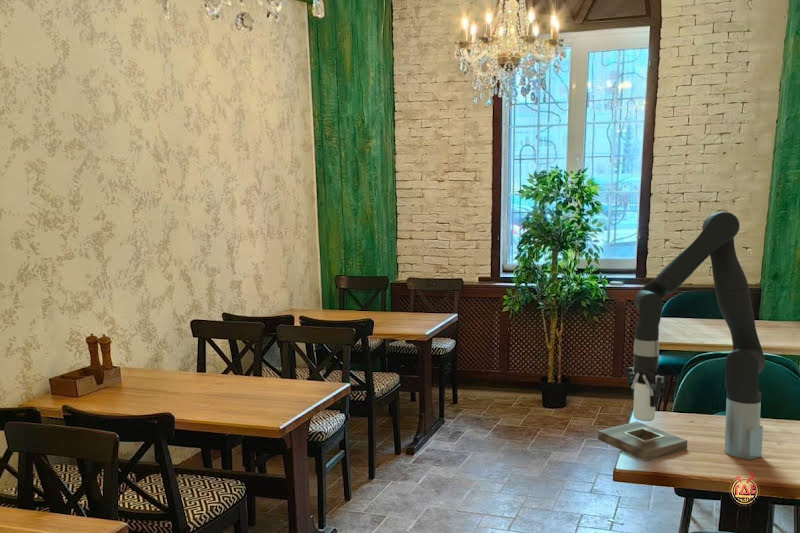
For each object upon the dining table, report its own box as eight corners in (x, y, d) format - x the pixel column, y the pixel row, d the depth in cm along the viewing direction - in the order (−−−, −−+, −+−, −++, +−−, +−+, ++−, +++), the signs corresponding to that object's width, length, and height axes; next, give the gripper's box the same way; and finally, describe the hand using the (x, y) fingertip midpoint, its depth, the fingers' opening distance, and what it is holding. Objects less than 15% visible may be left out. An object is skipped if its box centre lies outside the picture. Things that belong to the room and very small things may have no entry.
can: (656, 422, 197) (657, 385, 196) (634, 420, 199) (636, 384, 198) (652, 415, 204) (654, 379, 202) (631, 413, 205) (632, 378, 204)
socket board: (687, 449, 196) (687, 439, 196) (646, 461, 188) (646, 450, 188) (636, 429, 214) (637, 420, 214) (597, 439, 206) (597, 430, 206)
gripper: (673, 356, 194) (671, 408, 196) (637, 346, 207) (635, 395, 209) (656, 359, 191) (654, 411, 193) (620, 349, 204) (618, 398, 206)
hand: (644, 403), depth 201 cm, fingers closed on can, 6 cm apart
